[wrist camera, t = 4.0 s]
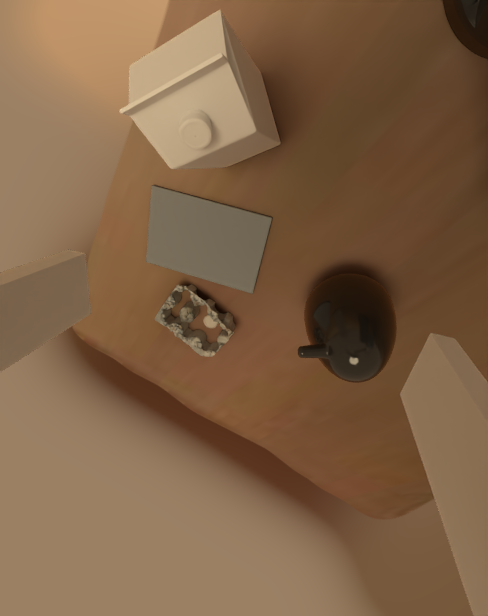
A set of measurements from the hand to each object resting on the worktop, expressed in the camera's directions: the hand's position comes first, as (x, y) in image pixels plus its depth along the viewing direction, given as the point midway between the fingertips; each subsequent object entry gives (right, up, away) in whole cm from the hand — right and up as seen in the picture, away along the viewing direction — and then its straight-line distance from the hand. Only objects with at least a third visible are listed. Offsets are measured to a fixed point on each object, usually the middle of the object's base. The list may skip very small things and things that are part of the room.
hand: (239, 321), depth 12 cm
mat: (-5, +10, +29) cm, 31 cm away
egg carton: (-6, 0, +35) cm, 36 cm away
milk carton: (0, +21, +23) cm, 31 cm away
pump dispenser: (+13, +2, +29) cm, 32 cm away
